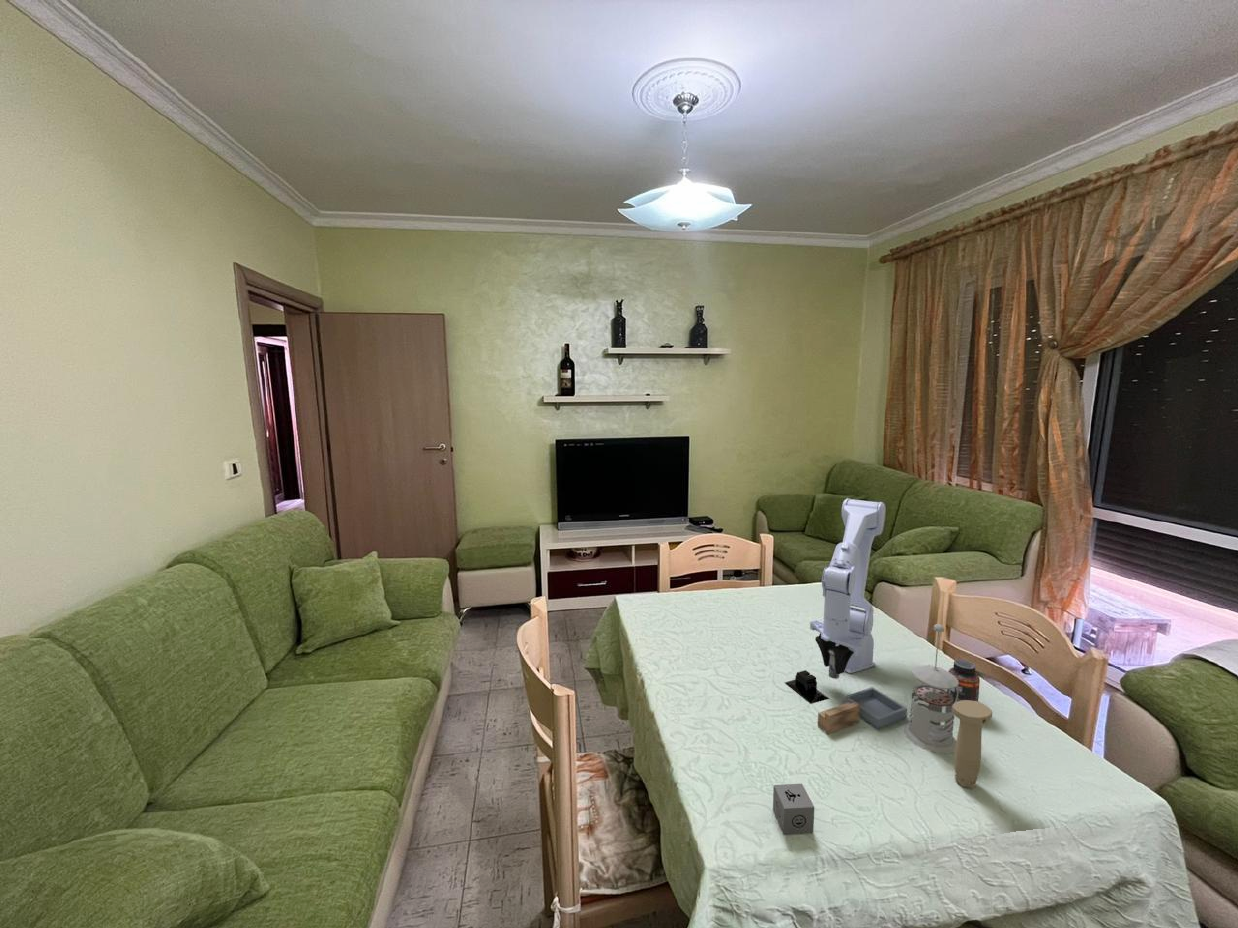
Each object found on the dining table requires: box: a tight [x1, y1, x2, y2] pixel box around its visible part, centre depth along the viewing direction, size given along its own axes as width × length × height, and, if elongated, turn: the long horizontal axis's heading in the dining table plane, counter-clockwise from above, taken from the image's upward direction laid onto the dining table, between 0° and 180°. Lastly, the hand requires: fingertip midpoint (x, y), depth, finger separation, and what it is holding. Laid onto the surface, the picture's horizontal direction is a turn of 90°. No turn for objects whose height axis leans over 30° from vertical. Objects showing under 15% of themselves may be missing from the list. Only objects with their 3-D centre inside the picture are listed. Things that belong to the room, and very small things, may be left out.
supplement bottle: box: [946, 658, 981, 703], centre depth 113 cm, size 6×6×11 cm
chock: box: [817, 702, 860, 735], centre depth 109 cm, size 9×3×4 cm, turn 114°
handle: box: [952, 700, 993, 789], centre depth 92 cm, size 5×6×15 cm
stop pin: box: [828, 646, 840, 679], centre depth 121 cm, size 3×3×7 cm
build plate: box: [784, 669, 830, 705], centre depth 122 cm, size 12×7×5 cm, turn 21°
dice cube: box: [772, 783, 815, 836], centre depth 85 cm, size 5×5×5 cm
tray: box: [843, 686, 908, 731], centre depth 113 cm, size 9×9×2 cm
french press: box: [903, 623, 959, 754], centre depth 104 cm, size 10×12×25 cm
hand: (834, 668), depth 122 cm, fingers closed on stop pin, 3 cm apart
